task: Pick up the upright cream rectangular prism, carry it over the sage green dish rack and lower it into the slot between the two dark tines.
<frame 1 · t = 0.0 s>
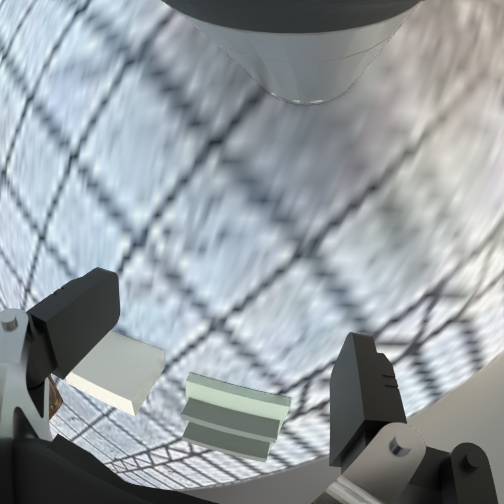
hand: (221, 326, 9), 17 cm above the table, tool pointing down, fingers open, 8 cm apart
dish rack: (233, 416, 37), on the table
cream rectangular prism: (131, 346, 36), on the table
book: (43, 372, 46), on the table
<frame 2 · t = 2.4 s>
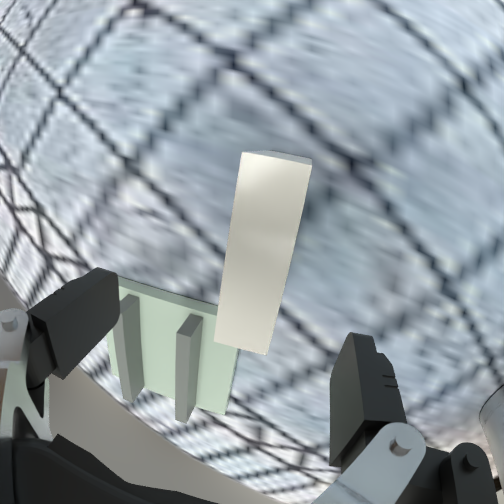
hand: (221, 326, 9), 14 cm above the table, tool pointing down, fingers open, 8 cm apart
dish rack: (169, 346, 29), on the table
cream rectangular prism: (277, 220, 22), on the table
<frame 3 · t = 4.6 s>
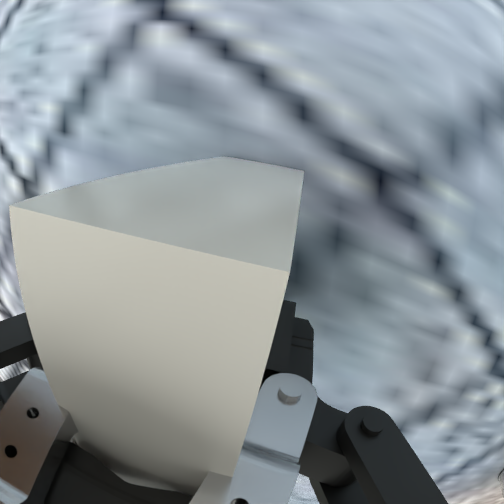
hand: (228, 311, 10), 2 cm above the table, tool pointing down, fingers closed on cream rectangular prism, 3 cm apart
cream rectangular prism: (242, 284, 12), on the table, touching gripper
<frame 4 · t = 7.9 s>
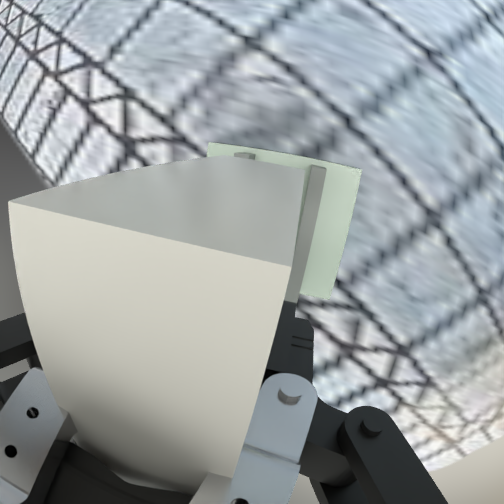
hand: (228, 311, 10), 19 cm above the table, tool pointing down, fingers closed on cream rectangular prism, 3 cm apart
dish rack: (274, 219, 29), on the table
cream rectangular prism: (242, 284, 12), point 17 cm above the table, touching gripper
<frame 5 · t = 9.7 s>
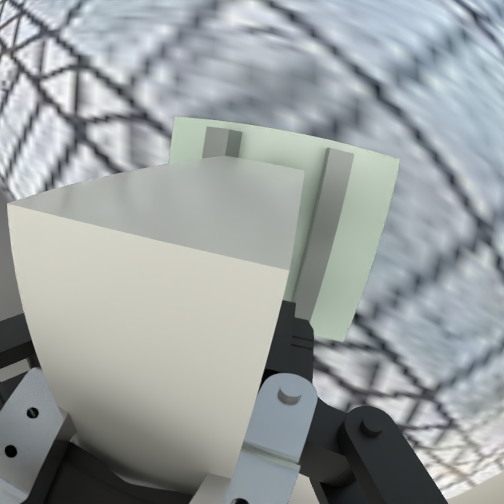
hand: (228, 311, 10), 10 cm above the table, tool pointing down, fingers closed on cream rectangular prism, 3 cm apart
dish rack: (269, 228, 20), on the table
cream rectangular prism: (242, 284, 12), point 8 cm above the table, touching gripper
when the fingers open (6 cm above the table, at t = 11.2 s): cream rectangular prism drops 2 cm, resting on dish rack.
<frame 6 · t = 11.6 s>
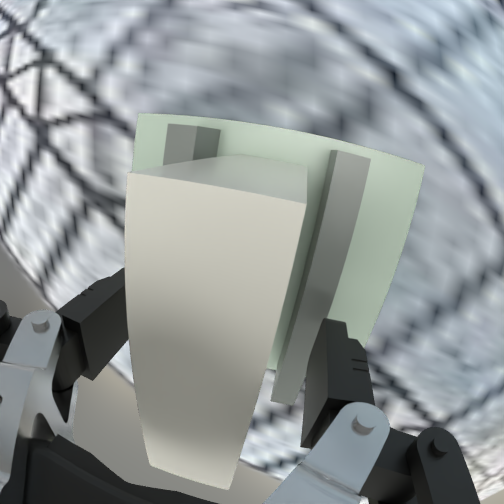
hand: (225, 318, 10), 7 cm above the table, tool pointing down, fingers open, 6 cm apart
dish rack: (257, 251, 16), on the table
cream rectangular prism: (255, 262, 15), point 1 cm above the table, touching dish rack
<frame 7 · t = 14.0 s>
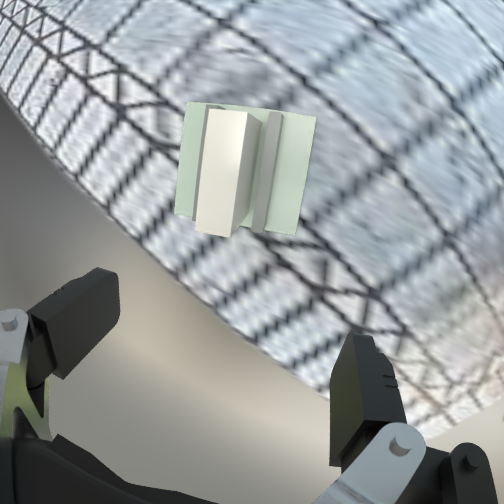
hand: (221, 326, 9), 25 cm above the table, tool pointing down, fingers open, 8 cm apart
dish rack: (243, 165, 32), on the table
cream rectangular prism: (241, 166, 31), point 1 cm above the table, touching dish rack
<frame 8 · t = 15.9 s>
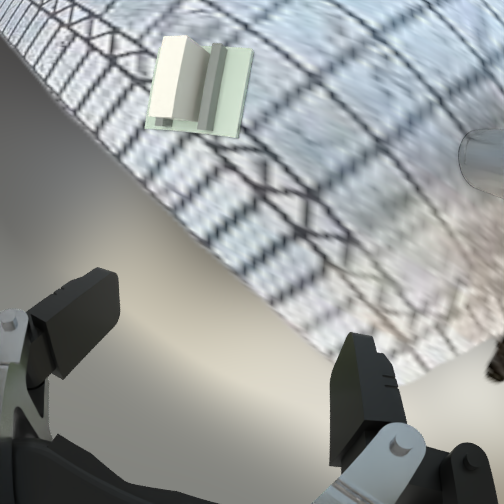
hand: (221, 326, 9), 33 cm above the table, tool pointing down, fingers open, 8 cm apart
dish rack: (198, 89, 37), on the table
cream rectangular prism: (195, 87, 36), point 1 cm above the table, touching dish rack
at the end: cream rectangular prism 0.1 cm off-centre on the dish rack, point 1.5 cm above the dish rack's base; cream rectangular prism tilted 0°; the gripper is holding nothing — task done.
